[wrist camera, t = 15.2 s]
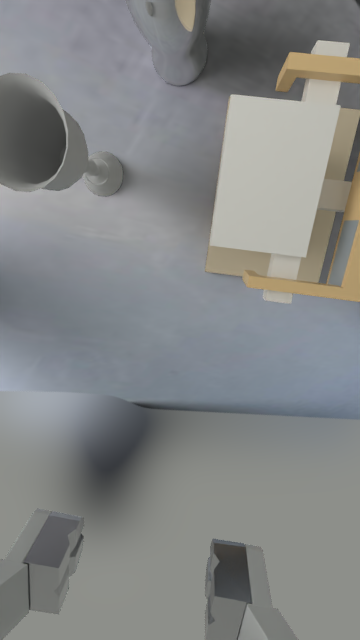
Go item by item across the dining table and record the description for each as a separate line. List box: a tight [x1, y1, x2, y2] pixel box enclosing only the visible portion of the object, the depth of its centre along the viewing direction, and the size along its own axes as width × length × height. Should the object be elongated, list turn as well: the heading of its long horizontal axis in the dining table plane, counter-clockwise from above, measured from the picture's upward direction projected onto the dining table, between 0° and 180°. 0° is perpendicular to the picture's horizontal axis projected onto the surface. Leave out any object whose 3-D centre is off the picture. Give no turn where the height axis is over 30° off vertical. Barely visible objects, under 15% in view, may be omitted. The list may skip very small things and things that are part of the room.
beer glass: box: [125, 0, 211, 86], centre depth 28 cm, size 7×7×15 cm
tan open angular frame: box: [242, 52, 360, 302], centre depth 27 cm, size 10×17×4 cm, turn 173°
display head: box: [205, 40, 360, 304], centre depth 31 cm, size 14×20×14 cm
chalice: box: [0, 73, 123, 197], centre depth 30 cm, size 7×7×18 cm
